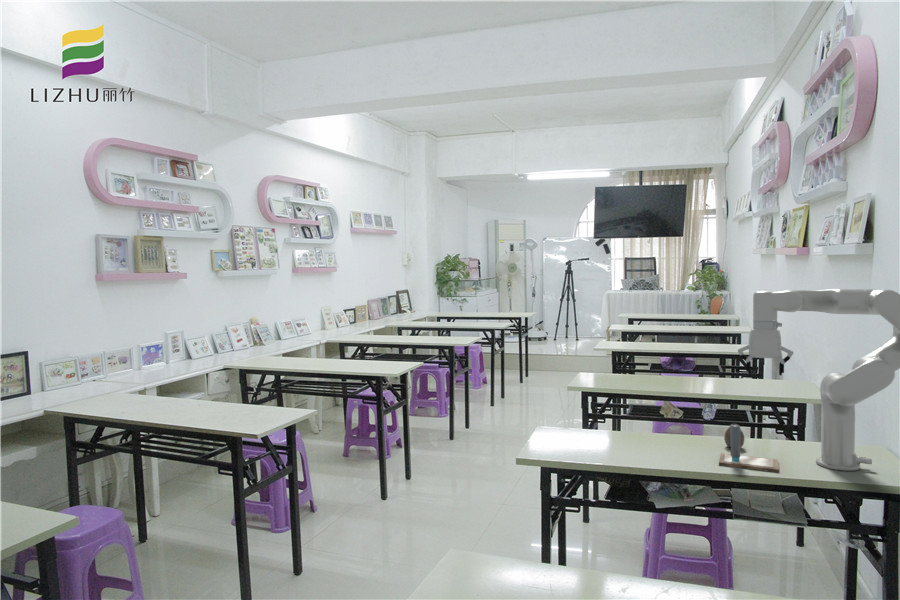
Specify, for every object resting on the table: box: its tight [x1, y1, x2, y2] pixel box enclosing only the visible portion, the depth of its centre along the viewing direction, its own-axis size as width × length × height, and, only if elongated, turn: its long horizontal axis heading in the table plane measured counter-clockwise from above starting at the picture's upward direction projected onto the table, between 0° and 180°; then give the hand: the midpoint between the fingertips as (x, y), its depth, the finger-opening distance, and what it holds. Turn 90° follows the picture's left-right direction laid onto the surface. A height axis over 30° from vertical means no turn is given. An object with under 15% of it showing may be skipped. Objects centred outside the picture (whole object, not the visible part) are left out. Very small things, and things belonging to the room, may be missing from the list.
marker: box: [730, 424, 741, 461], centre depth 200 cm, size 3×3×12 cm
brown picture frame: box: [718, 452, 780, 473], centre depth 201 cm, size 18×12×1 cm, turn 62°
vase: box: [723, 423, 745, 449], centre depth 221 cm, size 7×7×9 cm
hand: (764, 374), depth 205 cm, fingers open, 9 cm apart
